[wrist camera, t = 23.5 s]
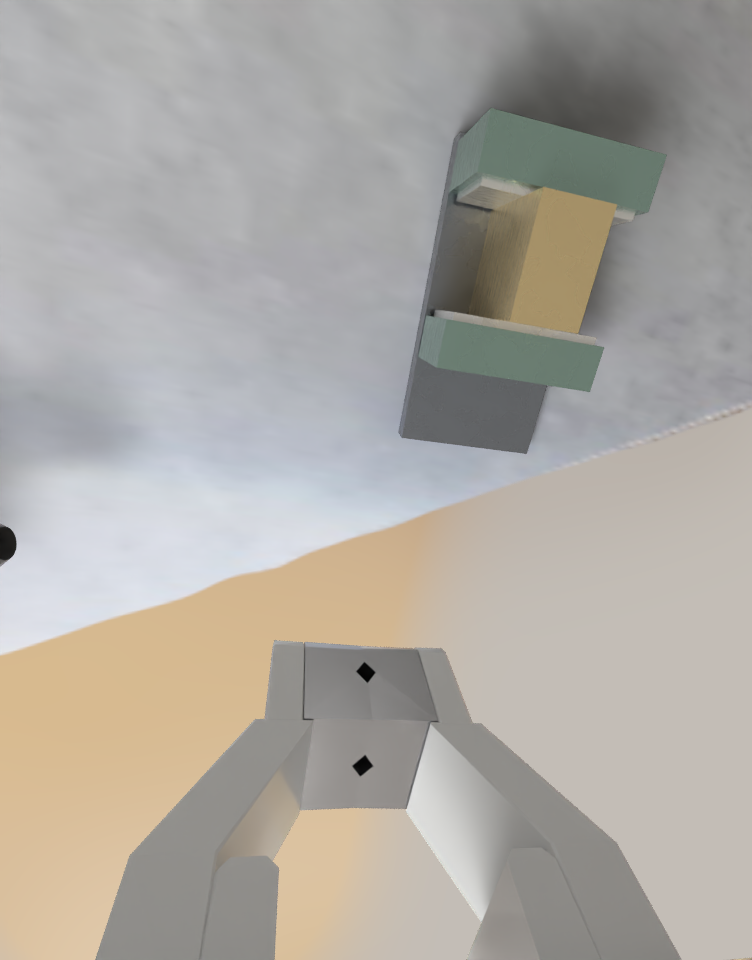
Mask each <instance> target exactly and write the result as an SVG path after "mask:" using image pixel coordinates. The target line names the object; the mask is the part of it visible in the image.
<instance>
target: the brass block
mask: <svg viewBox="0 0 752 960" xmlns="http://www.w3.org/2000/svg"><path fill="white" fill-rule="evenodd" d="M616 207H617V204H613V203H609V202H605V201H601V200H597V199H592V198H588V197H584V196H580V195H576V194H572V193H567V192H563V191H559V190H555V189H551V188H547V187H542V188H540V189H538V190H536V191H533V192H531V193H529V194H527V195H525V196H522V197H520V198H518V199H516V200H514V201H512V202H509V203H507V204H505V205H503V206H501V207H499V208H496V209H494V210H492V211H491V215H490V219H489V224H488V228H487V233H486V237H485V242H484V246H483V251H482V255H481V260H480V264H479V269H478V273H477V278H476V282H475V287H474V291H473V296H472V300H471V305H470V309H469V314H468V315H474V316H479V317H485V318H490V319H496V320H501V321H507V322H512V323H518V324H523V325H529V326H534V327H540V328H545V329H551V330H556V331H563V332H569V333H576V334H578V333H579V329H580V326H581V323H582V319H583V316H584V313H585V309H586V306H587V303H588V300H589V296H590V293H591V290H592V286H593V283H594V280H595V276H596V273H597V270H598V267H599V263H600V260H601V257H602V253H603V250H604V247H605V244H606V240H607V237H608V234H609V230H610V227H611V224H612V220H613V217H614V214H615V211H616Z"/></svg>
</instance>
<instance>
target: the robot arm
mask: <svg viewBox="0 0 752 960" xmlns="http://www.w3.org/2000/svg"><path fill="white" fill-rule="evenodd" d="M353 807H354V808H390V809H407V810H406V813H407V814H408V815H409V817H410V818H411V820H412V821H413V823H414V824H415V826H416V827H417V829H418V830H419V832H420V833H421V835H422V836H423V838H424V839H425V840H426V842H427V843H428V845H429V846H430V848H431V849H432V851H433V852H434V854H435V855H436V857H437V858H438V860H439V861H440V862H441V864H442V865H443V867H444V868H445V870H446V871H447V873H448V874H449V876H450V877H451V878H452V880H453V881H454V883H455V885H456V886H457V887H458V889H459V890H460V892H461V893H462V895H463V896H464V898H465V899H466V901H467V902H468V904H469V905H470V907H471V908H472V909H473V911H474V912H475V914H476V915H477V917H478V918H479V920H480V921H481V922H482V923H481V925H480V928H479V930H478V933H477V935H476V937H475V940H474V942H473V945H472V947H471V950H470V952H469V955H468V957H467V959H466V960H681V958H680V956H679V954H678V952H677V950H676V949H675V947H674V945H673V943H672V942H671V940H670V938H669V936H668V934H667V932H666V931H665V929H664V927H663V925H662V923H661V922H660V920H659V918H658V916H657V914H656V913H655V911H654V909H653V907H652V905H651V904H650V902H649V900H648V898H647V896H646V895H645V893H644V891H643V889H642V887H641V886H640V884H639V882H638V880H637V878H636V877H635V875H634V873H633V871H632V869H631V868H630V866H629V864H628V862H627V860H626V859H625V857H624V855H623V853H622V851H621V850H620V848H619V846H618V844H617V843H616V842H615V841H614V840H613V839H612V838H611V837H609V836H608V835H607V834H606V833H605V832H604V831H603V830H602V829H600V828H599V827H598V826H597V825H596V824H595V823H594V822H592V821H591V820H590V819H589V818H588V817H587V816H586V815H585V814H583V813H582V812H581V811H580V810H579V809H578V808H577V807H575V806H574V805H573V804H572V803H571V802H570V801H569V800H567V799H566V798H565V797H564V796H563V795H562V794H561V793H560V792H558V791H557V790H556V789H555V788H554V787H553V786H552V785H550V784H549V783H548V782H547V781H546V780H545V779H544V778H542V777H541V776H540V775H539V774H538V773H536V771H535V770H533V769H532V768H531V767H530V766H529V765H528V764H527V763H525V762H524V761H523V760H522V759H521V758H520V757H519V756H517V755H516V754H515V753H514V752H513V751H512V750H511V749H510V748H508V747H507V746H506V745H505V744H504V743H503V742H502V741H500V740H499V739H498V738H497V737H496V736H495V735H494V734H492V733H491V732H490V731H489V730H488V729H487V728H486V727H484V726H483V725H482V724H476V723H472V720H471V717H470V715H469V712H468V709H467V707H466V705H465V702H464V699H463V697H462V694H461V691H460V689H459V686H458V684H457V681H456V678H455V676H454V673H453V670H452V668H451V665H450V663H449V660H448V658H447V655H446V652H445V651H444V650H443V649H441V648H414V649H413V648H394V647H369V646H354V645H340V644H326V643H312V642H305V643H304V644H303V642H291V641H277V640H275V641H274V644H273V649H272V658H271V667H270V675H269V684H268V694H267V702H266V711H265V719H255V720H254V721H253V722H252V723H251V724H250V725H249V726H248V727H247V728H246V730H245V731H244V732H243V733H242V734H241V735H240V736H239V737H238V738H237V739H236V740H235V741H234V743H233V744H232V745H231V746H230V747H229V748H228V749H227V750H226V751H225V753H223V755H222V756H221V757H220V758H219V759H218V760H217V761H216V762H215V763H214V764H213V765H212V767H211V768H210V769H209V770H208V771H207V772H206V773H205V774H204V775H203V776H202V777H201V779H200V780H199V781H198V782H197V783H196V784H195V785H194V786H193V787H192V788H191V789H190V791H189V792H188V793H187V794H186V795H185V796H184V797H183V798H182V799H181V800H180V801H179V803H178V804H177V805H176V806H175V807H174V808H173V809H172V810H171V811H170V812H169V813H168V814H167V816H166V817H165V818H164V819H163V820H162V821H161V822H160V823H159V824H158V825H157V827H156V828H155V829H154V830H153V831H152V832H151V833H150V834H149V835H148V836H147V837H146V838H145V840H144V841H143V842H142V843H141V844H140V845H139V846H138V847H137V848H136V849H135V850H134V852H133V853H132V854H131V855H130V856H129V859H128V862H127V865H126V868H125V871H124V874H123V877H122V881H121V884H120V886H119V890H118V892H117V896H116V898H115V902H114V905H113V908H112V911H111V914H110V917H109V920H108V923H107V926H106V929H105V932H104V935H103V938H102V941H101V944H100V947H99V950H98V953H97V956H96V959H95V960H274V957H275V936H276V916H277V896H278V875H279V868H278V866H276V864H274V862H273V859H274V858H275V856H276V854H277V852H278V851H279V849H280V847H281V845H282V843H283V842H284V840H285V838H286V836H287V835H288V833H289V831H290V829H291V827H292V826H293V824H294V822H295V820H296V819H297V817H298V815H299V811H300V810H314V809H315V810H317V809H339V808H353ZM732 960H752V958H744V959H732Z"/></svg>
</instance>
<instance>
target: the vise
mask: <svg viewBox="0 0 752 960" xmlns="http://www.w3.org/2000/svg"><path fill="white" fill-rule="evenodd" d="M666 156H667V155H666V154H662V153H658V152H654V151H651V150H647V149H643V148H639V147H635V146H632V145H628V144H624V143H620V142H617V141H613V140H609V139H605V138H602V137H598V136H594V135H590V134H587V133H583V132H579V131H575V130H572V129H568V128H564V127H560V126H557V125H553V124H549V123H545V122H542V121H538V120H534V119H530V118H527V117H523V116H519V115H515V114H512V113H508V112H504V111H500V110H497V109H493V108H490V109H489V110H488V111H487V112H486V113H485V114H484V115H483V116H482V118H481V119H480V120H479V121H478V122H477V123H476V124H475V125H474V126H473V127H472V128H471V129H470V130H469V131H468V132H467V133H462V132H460V133H459V134H458V135H457V136H456V138H455V139H454V142H453V147H452V153H451V158H450V163H449V169H448V174H447V179H446V184H445V190H444V195H443V200H442V206H441V211H440V216H439V221H438V227H437V232H436V237H435V243H434V248H433V253H432V258H431V264H430V269H429V274H428V280H427V285H426V290H425V295H424V301H423V306H422V311H421V317H420V322H419V327H418V332H417V338H416V343H415V348H414V354H413V359H412V364H411V369H410V375H409V380H408V385H407V391H406V396H405V401H404V406H403V412H402V417H401V422H400V428H399V434H400V436H401V437H402V438H408V439H416V440H423V441H431V442H439V443H447V444H454V445H462V446H470V447H478V448H486V449H493V450H501V451H509V452H517V453H524V454H527V451H528V448H529V444H530V441H531V438H532V434H533V431H534V427H535V424H536V420H537V417H538V414H539V410H540V407H541V403H542V400H543V396H544V393H545V390H546V386H547V385H543V384H537V383H530V382H524V381H518V380H511V379H505V378H499V377H492V376H486V375H480V374H473V373H467V372H461V371H454V370H448V369H442V368H436V367H435V366H433V365H431V364H430V363H428V362H426V361H424V360H423V359H421V358H419V357H418V355H419V350H420V345H421V340H422V334H423V329H424V324H425V319H426V315H427V316H433V317H434V312H435V310H443V311H451V312H457V313H463V314H469V309H470V305H471V300H472V296H473V291H474V287H475V282H476V278H477V273H478V269H479V264H480V260H481V255H482V251H483V246H484V242H485V237H486V233H487V228H488V224H489V219H490V215H491V211H492V210H494V209H496V208H499V207H501V206H503V205H505V204H507V203H509V202H512V201H514V200H516V199H518V198H520V197H522V196H525V195H527V194H529V193H531V192H533V191H536V190H538V189H540V188H542V187H547V188H551V189H555V190H559V191H563V192H567V193H572V194H576V195H580V196H584V197H588V198H592V199H597V200H601V201H605V202H609V203H613V204H617V207H616V211H615V214H614V217H613V220H612V224H611V226H613V225H618V224H622V223H626V222H631V221H633V219H634V216H635V215H639V214H644V213H648V211H649V208H650V205H651V202H652V199H653V196H654V193H655V190H656V187H657V184H658V180H659V177H660V174H661V171H662V168H663V165H664V162H665V159H666Z"/></svg>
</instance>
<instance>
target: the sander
mask: <svg viewBox="0 0 752 960" xmlns="http://www.w3.org/2000/svg"><path fill="white" fill-rule="evenodd" d="M15 550H16V537H15V535H14V533H13V531H12V530H11V529H10V528H8V527H6V526H4V525H2V524H0V566H2V565H3V564H4V563H5V562H7V561H8V560H9V559H10V558H11V557H12V556H13V555H14V553H15Z"/></svg>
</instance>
